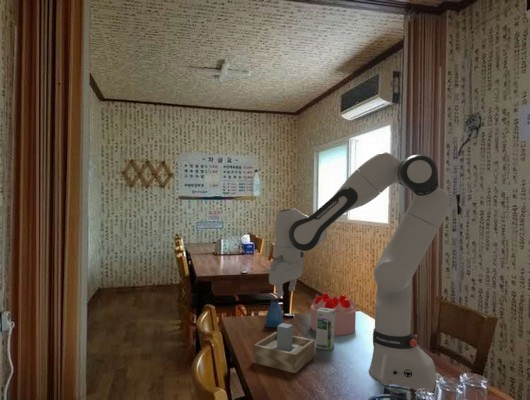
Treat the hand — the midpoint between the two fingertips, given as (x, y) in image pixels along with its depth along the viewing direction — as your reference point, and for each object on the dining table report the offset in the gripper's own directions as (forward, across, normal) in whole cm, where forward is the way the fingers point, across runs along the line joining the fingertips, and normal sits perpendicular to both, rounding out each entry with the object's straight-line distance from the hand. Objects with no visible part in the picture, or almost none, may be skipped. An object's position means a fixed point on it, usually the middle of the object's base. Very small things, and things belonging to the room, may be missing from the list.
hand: (286, 293), depth 138 cm
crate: (+23, 0, 0) cm, 23 cm away
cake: (+24, +42, -3) cm, 48 cm away
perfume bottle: (+23, +32, +21) cm, 45 cm away
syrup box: (+23, +18, -8) cm, 31 cm away
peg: (+23, 0, 0) cm, 23 cm away
